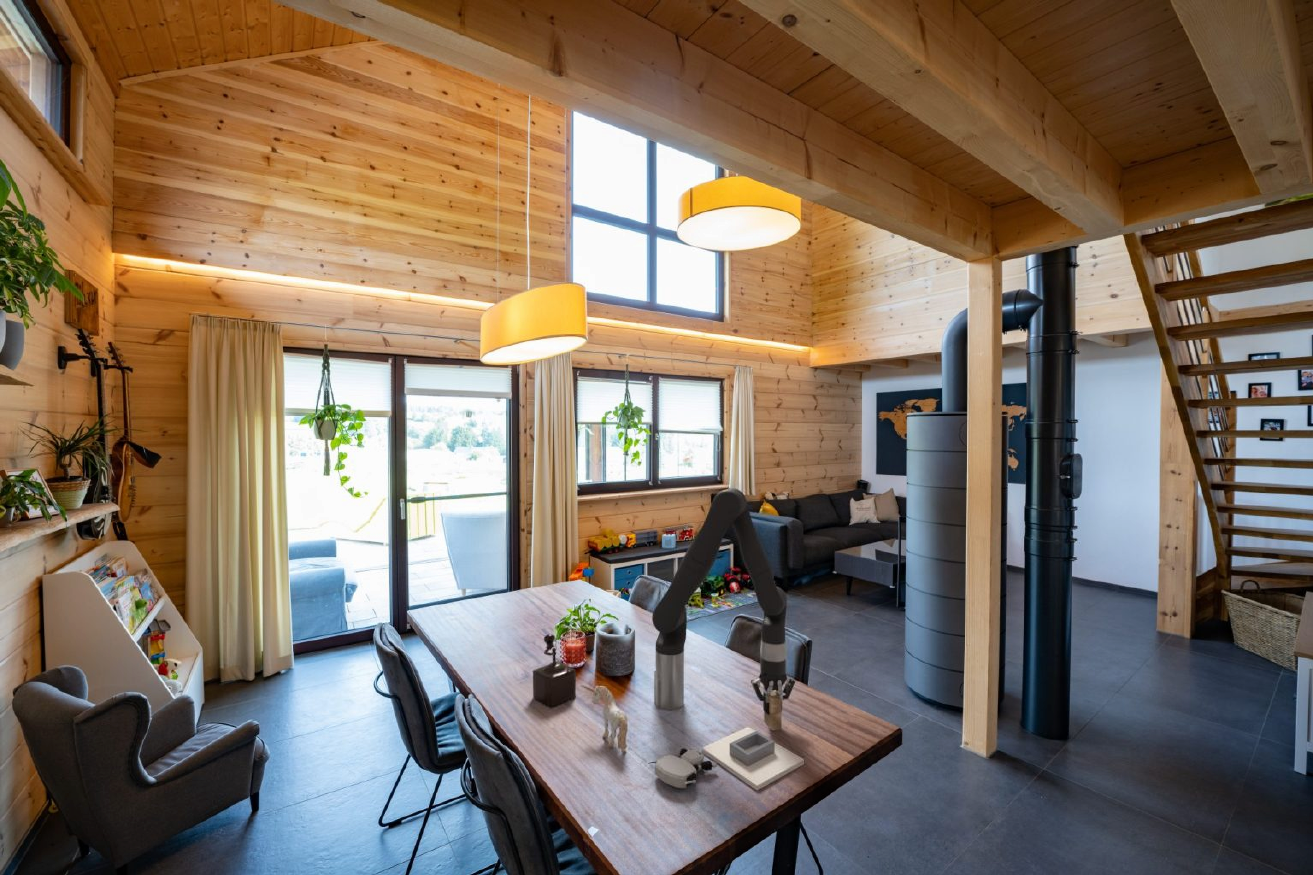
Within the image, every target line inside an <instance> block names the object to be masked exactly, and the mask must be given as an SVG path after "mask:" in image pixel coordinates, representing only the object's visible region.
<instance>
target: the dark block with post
mask: <svg viewBox="0 0 1313 875" xmlns="http://www.w3.org/2000/svg"><path fill="white" fill-rule="evenodd" d="M555 640H556V636H555V635H554V634H552V633H547V634H546V635H545V636H543V641H544V642H545V644H546V647H545V649H544V651H543V654H544V655H545V656H552V662H550V663H549V664H546V665H544V666H541V667H538V668H536V669H534V670H533V671H532V692H533V693H532V696H533V697H532V698H533V699H534V700H535V701H537V702H538V703H540V704H541V705H543V706H545V707H547V708H549V709H553V708H555V707H558V706H561V705H562V704H565V703H568V702H570V701H572V700H574V699H576V698H577V696H576V695H577V694H576V692H577V691H576V688H577V687H576V685H577V682H576V681H577V677H576V674H577V671H576V669H575V668H573V667H571V666H569V664H568V663H565V662H564V660H563V659H562V660H561V661H559V660H558V661H556V655H557V649H556V647H555V645H554V641H555ZM551 650H552V652H549V651H551Z"/></svg>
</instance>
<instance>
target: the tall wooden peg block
mask: <svg viewBox="0 0 1313 875" xmlns="http://www.w3.org/2000/svg"><path fill="white" fill-rule="evenodd" d="M782 712H783V701H782V699H781V698H780V696H778V694H777V693H776V691H775V690H773V691H772V693H771V696H770V701H769V715H767V714H766V713H765V712H764V713H763V716H764V718H763V719H764V722H765V723H766V724H767V725H768V727H769V728H770V730H771V731H777V730H779V731H781V730H782V726H783V725H782V717H783V716H782Z"/></svg>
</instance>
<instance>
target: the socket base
mask: <svg viewBox="0 0 1313 875" xmlns="http://www.w3.org/2000/svg"><path fill="white" fill-rule="evenodd" d="M701 753H702V754H703V755H704V756H707V757H708V758H709V759H711V760H713V762H716V763H717V765H720V766H721V767H722V768H724V769H725V770H727V771H729V772H730V773H731V774H732V775H734V776H735V777H737V778H739V780H741V781H743V782H744V783H746V784H747V785H748V786H750V787H751V788H752V789H754V790H755V791H759V790H761V789H763V788H764V787H766V786H768V785H769V784H771V783H773V782H775V781H777V780H778V779H780V778H782V777H784V776H785V775H787V774H789V773H791V772H792V771H795V770H797V769H798V768H799V767H801V766H803V765H805V759H804V758H802V757H801V756H799V755H797V754H795V753H793V752H792V751H790V750H789V749H786V748H785V747H784V746H781V745H779V744H778V743H776V742H775V741H774V740H773V739H771V738H770V737H768V736H766V735H764V734H763V733H762V732H759V731H757V730H754V729H752V728H750V727H749V726H746V727H745V728H742V729H740V730H738V731H736V732H733V733H732V734H730V735H727V736H725V737H723V738H720V739H718V740H717V741H714V742H712V743H710V744H708V745H705V746H704V747H702V748H701Z"/></svg>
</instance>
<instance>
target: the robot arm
mask: <svg viewBox="0 0 1313 875" xmlns="http://www.w3.org/2000/svg"><path fill="white" fill-rule="evenodd" d="M731 525H732V527H733V529H734V532H735V534H736V538H737V541H738V546H739V549H740V554H741V557H742V560H743V564H744V566H745V568H746V571H747V573H748V575H749V577H750V579H751V581H752V584H753V585H752V586H753V588H754V592H755V596H756V598H757V602H758V605H759V606H760V608H761V610H762V612H763V620H762V623H761V633H760V634H761V635H760V636H761V639H760V640H761V641H760V651H759V654H760V660H759V661H760V665H759V666H760V667H759V669H760V673H759V675H758V678H757V679H751V681H750V683H751V686H752V688H753V690H754V693H755V695H756V697H757V698H758V699H759V701H760V702H762V706H763V707H762V710H763V711H764V712H765V713H766V714H767V715H769V701H770V696H771V693H772V691H773V690H775V692H776V693H777V694H778V696H780V698H781V699H782V702H783V701H785V700H789V698H790V697H791V693H792V691H793V689H794V686H795V684H796V681H795V679H794V678H793V677H792V676H787V674H786V672H787V646H786V617H787V616H786V615H787V604H788V603H787V602H788V598H787V595H786V594H787V593H786V592H785V591H784V590H783V589H782V588H781V587H779V586H777V585H776V583H775V580H774V578H775V577H774V570H773V568H772V566H771V564H770V561H769V559H768V556H767V555H766V552H765V551H764V548H763V546H762V543H761V541H760V540H759V536H758V533H757V531H756V528H755V525H754V523H753V520H752V516H751V512H750V508H749V505H748V501H747V498H746V495H745V494H744V493H743V491H742V490H740V489H738V488H734V487H733V488H732V487H730V488H726V489H723V490H721V491H719V492H718V493H717V494H716V495H715V496H714V498H713V499H712V502H711V505H710V507H709V510H708V512H707V515H706V518H705V519H704V521H703V524H702V526H701V528H700V529H699V530H698V532H697V533H696V534H695V536H694V538H693V540H692V542H691V543H690V545H689V547H688V548H687V551H686V552H685V553H684V556H683V557H682V559H681V562H680V564H679V566H678V568H677V569H676V572H675V574H674V576H673V578H672V581H671V583H670V585H669V586H668V588H667V590H666V592H665V593H664V595H663V597H662V598H661V599H660V601H659V602H658V603H657V605H656V606H655V608H654V610H653V612H652V619H651V620H652V624H653V627H654V628H655V629H656V631H657V632H659V633H658V636H657V639H656V640H655V670H654V673H653V701H654V703H655V707H656V709H662V710H666V711H667V710H668V711H670V710H671V711H673V710H678V709H680V708H682V707H683V706H684V702H685V682H684V681H685V643H686V641H687V640H686V639H687V625H688V622H687V621H688V616H687V615H688V614H687V613H688V612H687V608H686V605H687V604H688V602H689V601H690V599H691V597H692V596H693V595H694V594H695V592H696V591H697V590H698V589H699V588H700V587H701V585H702V584H703V582H704V581H705V580H706V578H708V577H707V576H708V575H709V574H710V572H711V570H712V568H713V566H714V564H715V563H716V560H717V558H718V555H719V552H720V548H721V545H722V541H723V539H724V537H725V535H726V533H727V531H728V530H729V529H730V527H731ZM761 684H762V685H763V688H762V691H763V693H762V691H761V689H760V688H761ZM784 684H785V685H784ZM783 686H784V687H783Z"/></svg>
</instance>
